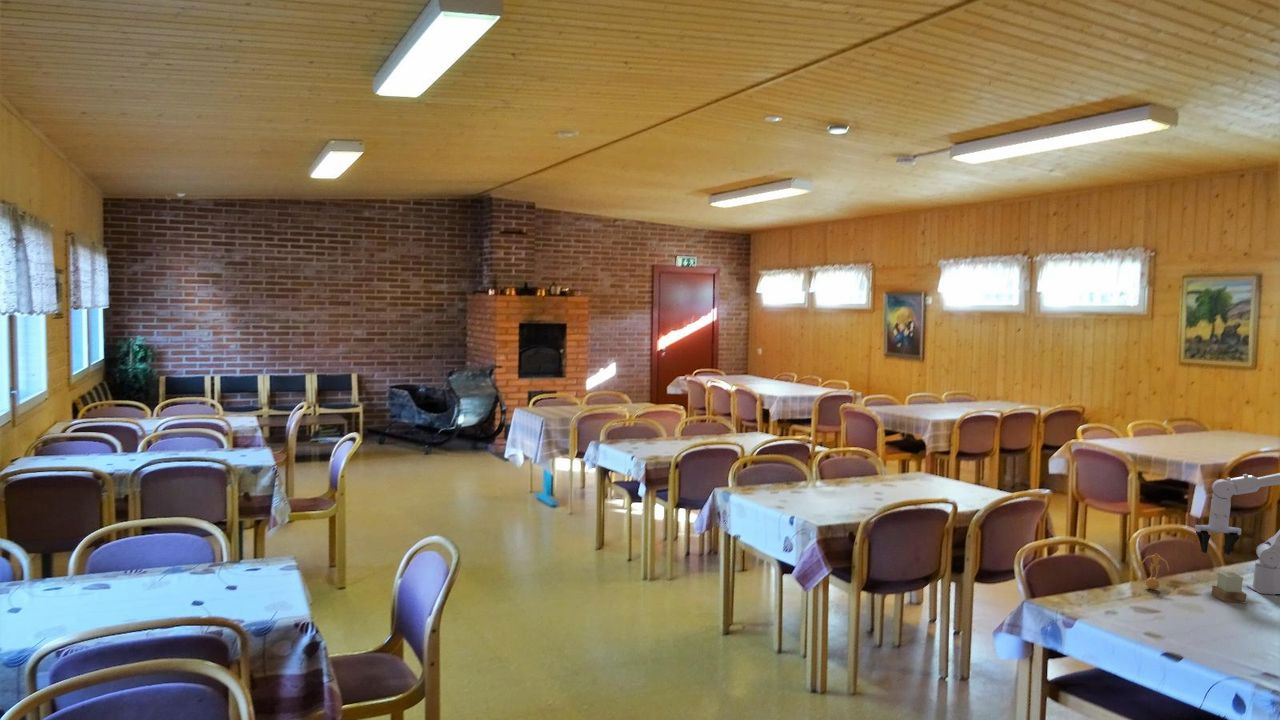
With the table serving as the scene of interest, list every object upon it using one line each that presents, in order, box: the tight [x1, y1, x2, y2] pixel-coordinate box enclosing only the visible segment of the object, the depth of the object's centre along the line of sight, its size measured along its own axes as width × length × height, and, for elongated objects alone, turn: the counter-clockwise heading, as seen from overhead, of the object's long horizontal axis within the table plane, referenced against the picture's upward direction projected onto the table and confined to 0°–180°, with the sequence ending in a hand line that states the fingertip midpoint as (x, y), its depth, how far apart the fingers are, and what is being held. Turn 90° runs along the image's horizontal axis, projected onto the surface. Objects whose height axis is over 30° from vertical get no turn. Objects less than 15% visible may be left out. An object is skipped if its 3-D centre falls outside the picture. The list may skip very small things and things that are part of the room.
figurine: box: [1140, 552, 1170, 591], centre depth 307 cm, size 8×6×12 cm
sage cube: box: [1216, 571, 1244, 593], centre depth 300 cm, size 5×5×5 cm
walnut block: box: [1211, 585, 1248, 603], centre depth 300 cm, size 7×7×3 cm
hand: (1215, 553), depth 317 cm, fingers open, 7 cm apart
